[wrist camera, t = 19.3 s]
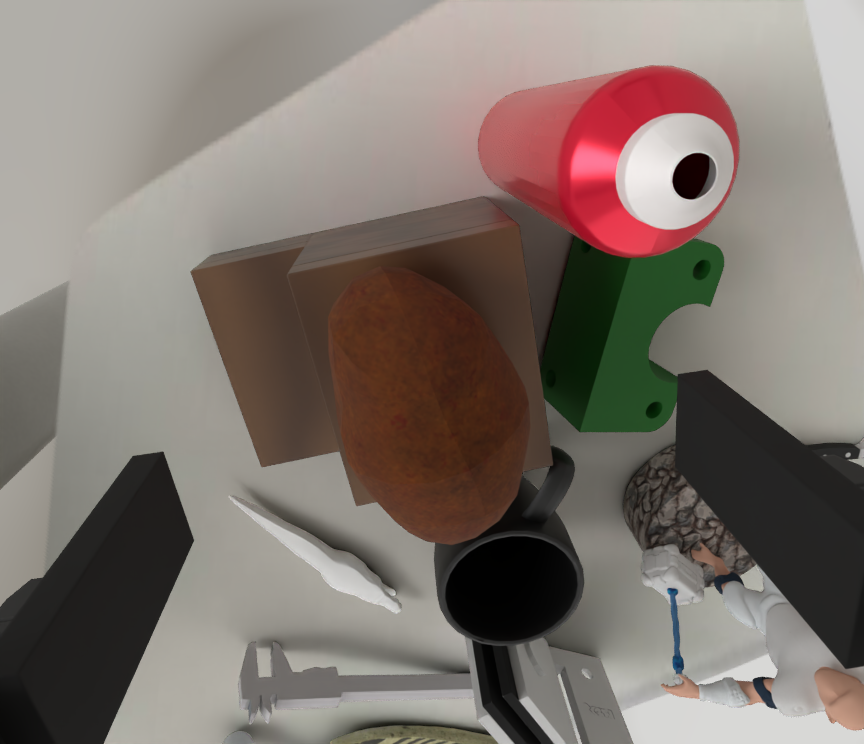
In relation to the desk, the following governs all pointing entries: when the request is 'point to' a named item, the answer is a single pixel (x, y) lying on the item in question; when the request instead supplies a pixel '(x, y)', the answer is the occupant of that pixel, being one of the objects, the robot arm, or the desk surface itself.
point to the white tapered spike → (326, 559)
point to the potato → (426, 404)
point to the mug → (514, 568)
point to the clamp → (620, 334)
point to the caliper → (334, 686)
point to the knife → (839, 450)
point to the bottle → (617, 156)
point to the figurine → (732, 601)
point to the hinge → (543, 695)
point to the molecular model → (238, 738)
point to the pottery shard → (413, 736)
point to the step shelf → (321, 286)
